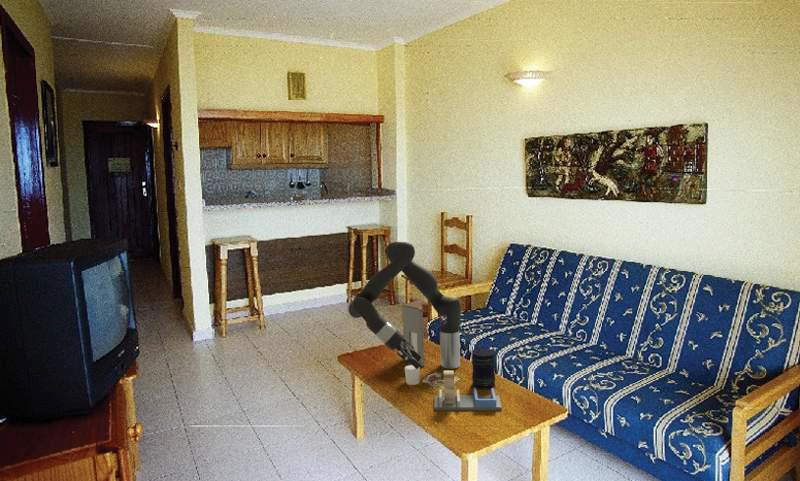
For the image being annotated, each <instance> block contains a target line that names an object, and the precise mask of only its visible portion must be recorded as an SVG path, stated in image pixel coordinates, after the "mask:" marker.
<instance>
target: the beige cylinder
mask: <svg viewBox="0 0 800 481" xmlns="http://www.w3.org/2000/svg"><path fill="white" fill-rule="evenodd" d="M420 369H421V366H420V367H419V368H418V369H416V368H415V367H414V366H413V365H412V364H409V365H408V364H407V365H405V366H404V374H405V375H404V376H405V381H406V382H405V383H406V384H407V385H409V386H415V385H418V384H419V383H420V374H421V373H420V372H421V370H420Z"/></svg>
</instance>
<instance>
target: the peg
mask: <svg viewBox="0 0 800 481" xmlns="http://www.w3.org/2000/svg"><path fill="white" fill-rule="evenodd" d="M443 388H444V389H443V390H444V393H443V395H444V399H445V403H455V395H456V394H455V371H454V370H443Z"/></svg>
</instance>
